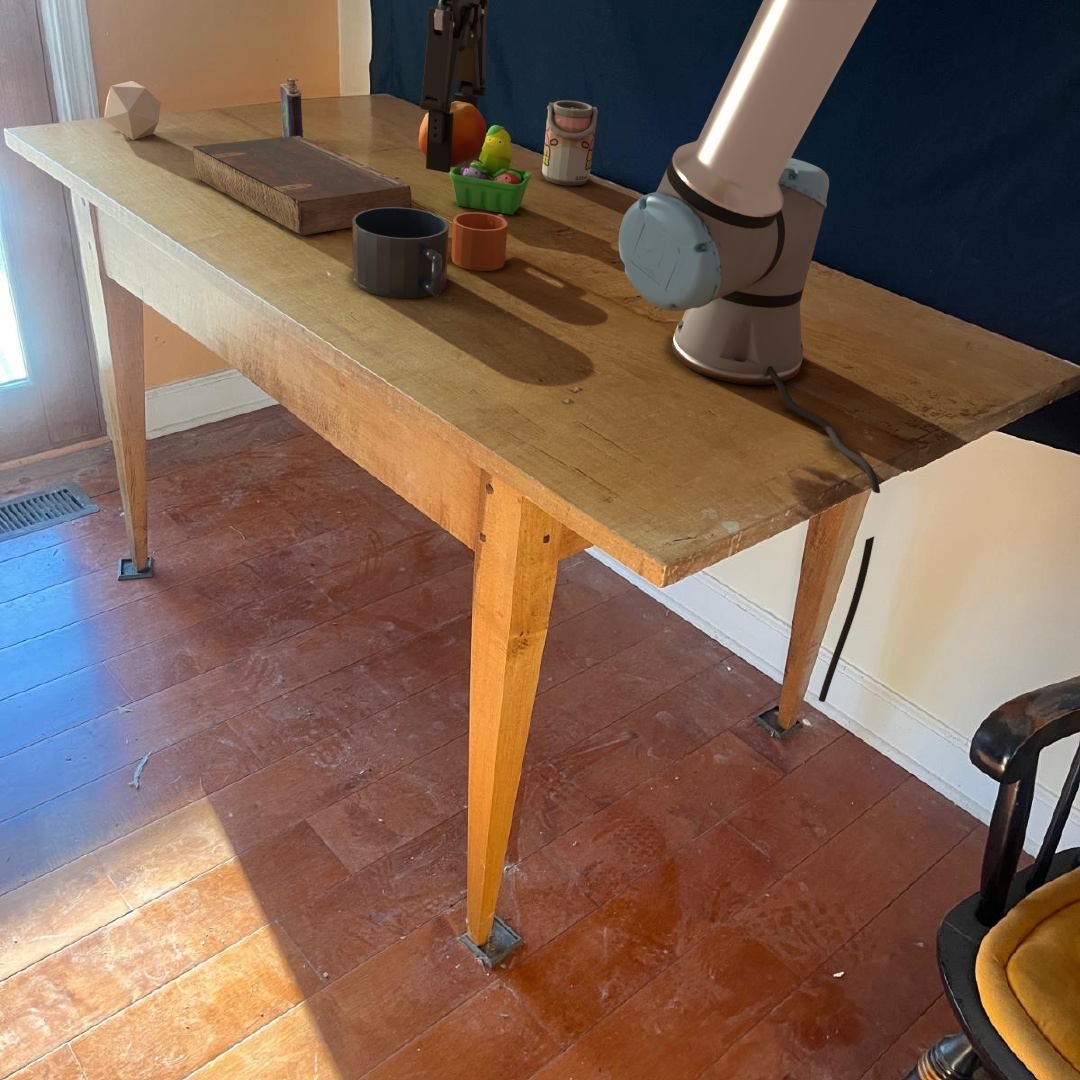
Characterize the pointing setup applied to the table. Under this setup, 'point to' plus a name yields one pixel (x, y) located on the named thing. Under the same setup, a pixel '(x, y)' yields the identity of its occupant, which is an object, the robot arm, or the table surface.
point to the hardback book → (297, 182)
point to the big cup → (400, 252)
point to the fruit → (461, 134)
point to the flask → (291, 109)
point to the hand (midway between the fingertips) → (450, 160)
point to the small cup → (479, 241)
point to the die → (132, 110)
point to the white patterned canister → (569, 142)
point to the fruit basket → (491, 177)
